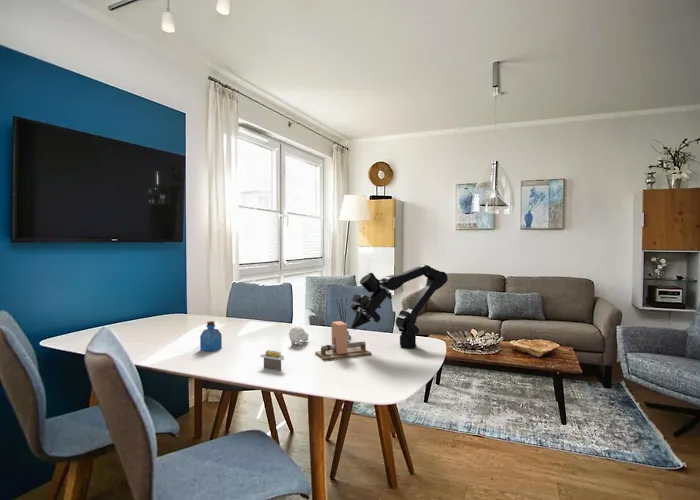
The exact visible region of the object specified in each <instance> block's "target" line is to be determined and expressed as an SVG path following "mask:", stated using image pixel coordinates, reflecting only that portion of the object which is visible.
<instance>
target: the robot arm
mask: <svg viewBox="0 0 700 500" xmlns="http://www.w3.org/2000/svg"><path fill="white" fill-rule="evenodd" d="M422 276H424V277H425V278H427V279H426V285H425V286H424V287H423V288H422V290H421V291H420V293H419V294H418V296H417V297H416V298H415V299H414V301H413V302H412V303H411V305H410V306H409V307H408V309H406V310H404V309H401V310H400V312H399V314H397V315H396V319H395V320H394V321H395V326H396V327H397V329H398V331H399V332H401V333H400V335H399V346H400V348H402V349H417V341H416V340H417V337H416V336H417V335H418V334H419V333H420V329H419V328H418V327H417V325H416V323H417V320H418V315H419V314H420V312H421V311H422V309H423V308H424V307H425V306H426V304H427V303H428V301H429V300H430V299H431V297H432V296H433V295H434V293H435V292H436V291H437V290H439V289H441V288H443V287H444V285H445V284H446V283H447V282H448V274H447V273H446V272H444V271H441V270H439V269H435V268H433V267H431V266H430V265H428V264H420V265H419V266H417V267H414V268H411V269H409V270H406V271H404V272H401V273H398V274H391V275H390V274H389V275H385V276H383V277H382V278H380V279H378V278H377V277H376V276H375V274H374V273H373V272H369V273H368V274H365V275H364V276H363V277H362V278H361V279H360V281H359V284H360V285H361V286H362V287H363V289H364V290H366V291H367V293H372V294H370V296H368V295H366V294H362V295H359V294H356V293H354V294H353V297H352V298H351V301H352V302H355V303H352V304H351V305H350V309H351V310H353V312H354V313H355V317H354V319H353V321H352V323H351V326H350V328H351V329H352V330H354V329H356V328H358V327H361V326H362V325H365V324H368V323H370V322H371V319H373V322H374V323H376V324H378V323H379V322H380V321H381V315H380V314H379V313H378V312H377V309H381V308H382V306H381V305H382V304H383V303H384V301H385V300H386V299H388V300H392V299H393V296H392V292H388V291H396V290H398V289H400V288H401V287H402V286H403V285H404V284H405V283H407V282H410V281H412V280H414V279H417V278H419V277H422Z"/></svg>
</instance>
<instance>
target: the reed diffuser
mask: <svg viewBox="0 0 700 500" xmlns="http://www.w3.org/2000/svg"><path fill="white" fill-rule="evenodd" d="M347 300H348V298H346V299H345V304H347V302H348V301H347ZM340 301H341V302H338V301H337V300H335V302H336V306H337V309H338V312H339V315H340V319H341V320H340V321H341V322H344V320H345V319H346V314H347V309H345V314H344V313H342V311H344V306H343V304H340V303H343V300H342V298H341V299H340ZM340 307H341V308H340ZM341 309H342V311H341ZM351 339H352V336H351V335H350V334H349V330H347V341H349V340H351Z"/></svg>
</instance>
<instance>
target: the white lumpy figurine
mask: <svg viewBox="0 0 700 500" xmlns="http://www.w3.org/2000/svg"><path fill="white" fill-rule="evenodd" d="M288 336H289V340H290V343H291V345H292V346H294V345H295V344H297V345H298V346H304V343H303V342H308V340H309V333H308V332H307V331H305V329H304V328H303V327H302V326H300V325H294V326H292V328H291V329H290V330H289V333H288Z"/></svg>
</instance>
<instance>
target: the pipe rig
mask: <svg viewBox="0 0 700 500" xmlns="http://www.w3.org/2000/svg"><path fill="white" fill-rule="evenodd" d="M366 345H367V344H366V341H365V340H364V341H356V342H355V341H354V342H347V353H344V354H337V353H336V351H332V350H335V349H336V344H335V345H332V344H326V345H321V346H320V347H321V348H320V350H319V351H316V350H315V353H314V354H315V355H316V356H317V357H319V358H320V359H321V358H322V360H323V361H324V362H326V360H328V361H334V359H336V360H342V359H343V358H344V359H350V358H351V357H352V358H359V356H360V357H365V356H366V355H368V356H372V352H371V351H369V350H368V349H366V347H367V346H366Z"/></svg>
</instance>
